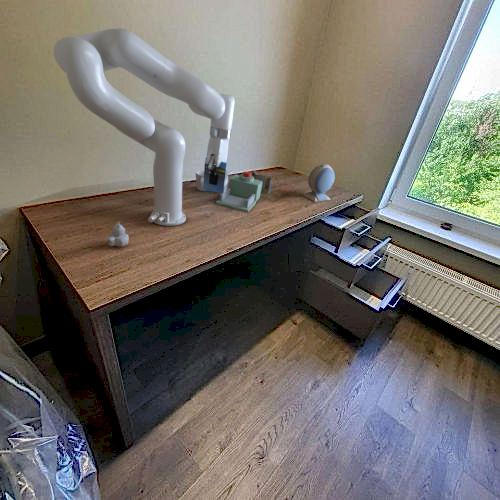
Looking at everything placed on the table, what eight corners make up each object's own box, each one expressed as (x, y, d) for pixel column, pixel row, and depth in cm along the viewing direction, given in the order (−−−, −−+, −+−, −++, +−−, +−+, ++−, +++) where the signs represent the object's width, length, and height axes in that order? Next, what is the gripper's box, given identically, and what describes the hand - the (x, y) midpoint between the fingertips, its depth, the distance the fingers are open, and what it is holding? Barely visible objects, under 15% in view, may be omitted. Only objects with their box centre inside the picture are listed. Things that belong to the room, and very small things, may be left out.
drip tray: (247, 212, 118) (249, 203, 116) (215, 203, 121) (216, 194, 119) (256, 203, 129) (257, 194, 127) (226, 195, 132) (227, 187, 130)
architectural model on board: (249, 187, 146) (251, 169, 141) (252, 186, 148) (254, 168, 143) (267, 194, 141) (270, 175, 136) (270, 193, 144) (273, 174, 139)
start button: (249, 178, 127) (249, 174, 126) (241, 177, 128) (242, 172, 127) (251, 176, 130) (252, 172, 129) (244, 175, 131) (244, 170, 130)
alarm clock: (318, 193, 156) (327, 161, 147) (332, 199, 149) (342, 166, 140) (300, 195, 148) (309, 161, 139) (313, 202, 142) (323, 167, 133)
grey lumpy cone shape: (134, 245, 84) (132, 221, 80) (114, 253, 79) (111, 228, 75) (122, 238, 87) (119, 215, 82) (102, 246, 82) (99, 222, 77)
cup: (209, 195, 128) (210, 178, 124) (192, 193, 128) (192, 176, 124) (212, 188, 137) (213, 172, 133) (196, 185, 137) (197, 169, 133)
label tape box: (226, 191, 111) (230, 160, 105) (222, 194, 107) (226, 162, 101) (206, 186, 112) (209, 155, 106) (202, 189, 109) (204, 157, 103)
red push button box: (255, 202, 129) (258, 181, 124) (227, 195, 132) (229, 174, 127) (259, 197, 136) (263, 177, 131) (233, 190, 139) (235, 171, 134)
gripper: (219, 129, 107) (215, 176, 116) (200, 132, 93) (196, 185, 102) (237, 133, 106) (231, 180, 115) (221, 137, 92) (215, 190, 101)
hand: (215, 182), depth 108 cm, fingers closed on label tape box, 4 cm apart
